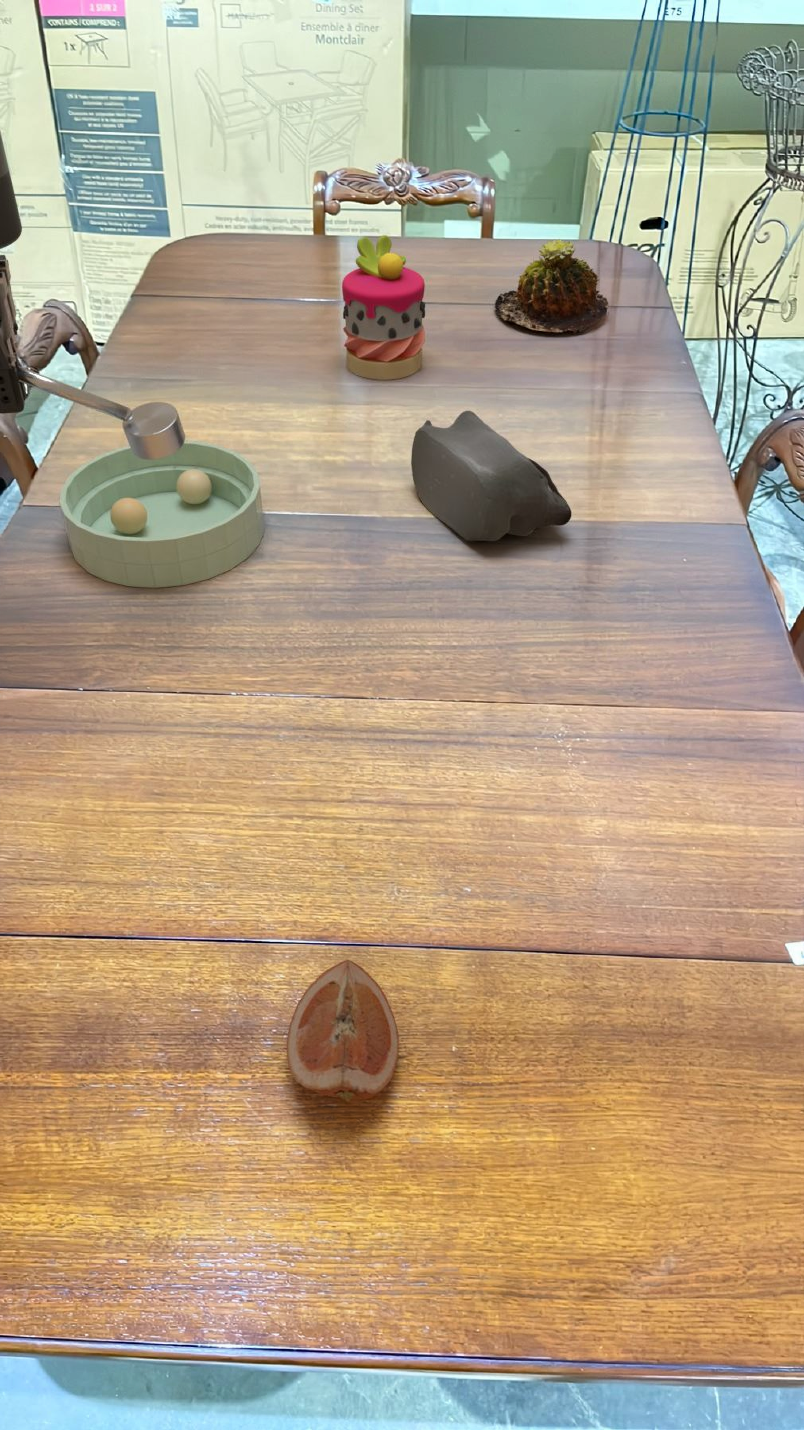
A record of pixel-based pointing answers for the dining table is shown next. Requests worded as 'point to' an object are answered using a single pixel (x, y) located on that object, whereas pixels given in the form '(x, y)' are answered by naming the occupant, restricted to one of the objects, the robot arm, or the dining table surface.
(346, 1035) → the fruit slice
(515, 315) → the cactus
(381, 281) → the cake
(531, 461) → the rock
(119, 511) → the dumpling
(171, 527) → the bowl
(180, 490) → the dumpling
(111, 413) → the ladle
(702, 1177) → the dining table surface
